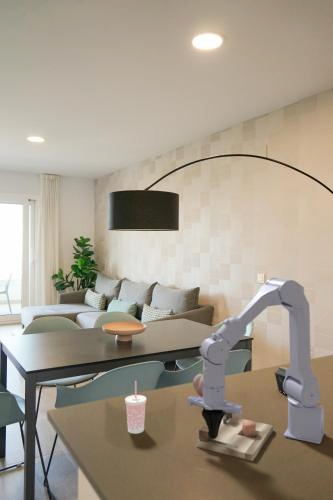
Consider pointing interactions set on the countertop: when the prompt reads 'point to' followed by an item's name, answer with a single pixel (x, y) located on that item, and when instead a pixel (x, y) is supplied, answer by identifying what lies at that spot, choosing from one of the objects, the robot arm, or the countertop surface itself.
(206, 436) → the walnut slider
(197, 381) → the decorative fruit
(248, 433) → the terracotta button
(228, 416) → the grey rectangular block
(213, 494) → the countertop surface
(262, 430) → the control panel
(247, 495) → the countertop surface
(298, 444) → the countertop surface
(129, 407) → the beverage cup
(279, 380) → the electrical switch
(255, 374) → the countertop surface
